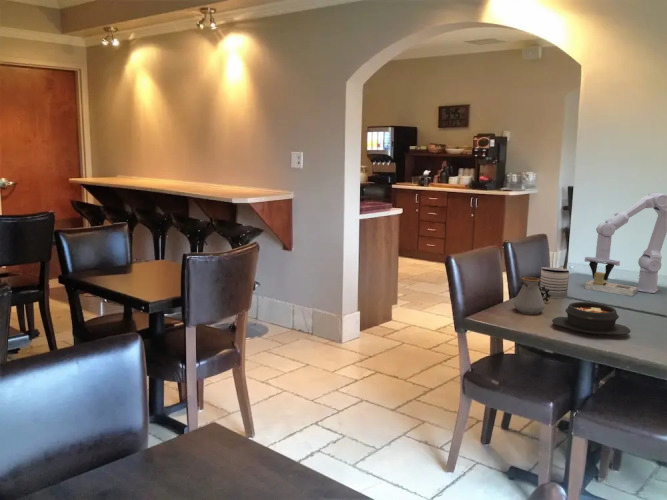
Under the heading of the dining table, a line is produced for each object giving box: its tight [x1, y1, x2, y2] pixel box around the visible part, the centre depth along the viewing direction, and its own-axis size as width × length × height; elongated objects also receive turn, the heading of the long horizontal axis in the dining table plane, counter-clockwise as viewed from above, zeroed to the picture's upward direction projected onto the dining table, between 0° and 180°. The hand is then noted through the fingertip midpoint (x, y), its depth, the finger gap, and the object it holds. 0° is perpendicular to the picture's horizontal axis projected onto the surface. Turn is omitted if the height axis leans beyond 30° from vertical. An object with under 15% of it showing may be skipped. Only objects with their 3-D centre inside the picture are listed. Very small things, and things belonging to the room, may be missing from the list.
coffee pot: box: [513, 276, 546, 315], centre depth 225 cm, size 21×12×15 cm, turn 150°
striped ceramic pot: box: [539, 266, 570, 299], centre depth 257 cm, size 11×11×12 cm
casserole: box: [551, 301, 631, 336], centre depth 207 cm, size 25×19×8 cm
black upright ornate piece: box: [538, 286, 551, 303], centre depth 242 cm, size 7×7×12 cm
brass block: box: [593, 271, 607, 285], centre depth 272 cm, size 4×4×6 cm
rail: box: [584, 279, 639, 297], centre depth 270 cm, size 9×20×2 cm, turn 51°
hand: (600, 279), depth 272 cm, fingers open, 4 cm apart
